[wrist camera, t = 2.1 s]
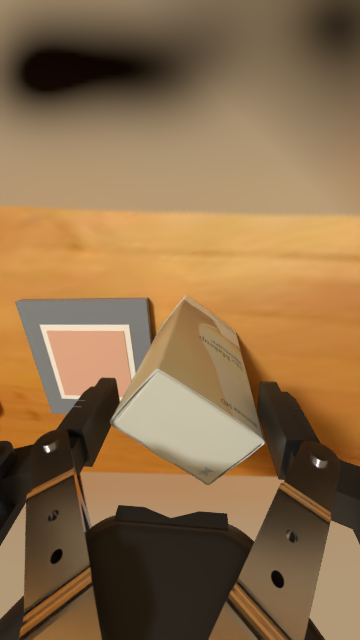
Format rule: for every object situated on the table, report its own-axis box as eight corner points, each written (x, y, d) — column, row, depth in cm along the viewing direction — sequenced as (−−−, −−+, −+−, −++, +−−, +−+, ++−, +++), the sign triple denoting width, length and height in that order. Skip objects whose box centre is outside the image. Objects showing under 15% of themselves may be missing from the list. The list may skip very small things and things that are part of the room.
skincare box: (237, 331, 21) (276, 447, 10) (208, 361, 22) (213, 491, 11) (183, 291, 20) (155, 367, 9) (157, 325, 22) (105, 428, 10)
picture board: (148, 297, 21) (145, 300, 20) (159, 413, 26) (158, 419, 25) (21, 299, 22) (13, 302, 21) (56, 408, 27) (51, 414, 26)
